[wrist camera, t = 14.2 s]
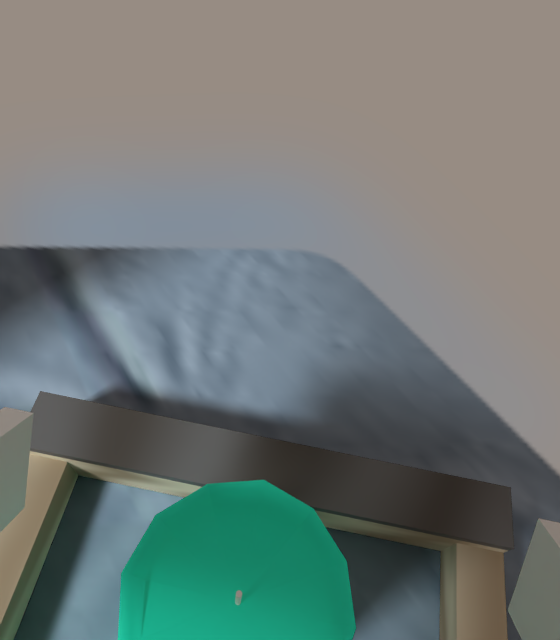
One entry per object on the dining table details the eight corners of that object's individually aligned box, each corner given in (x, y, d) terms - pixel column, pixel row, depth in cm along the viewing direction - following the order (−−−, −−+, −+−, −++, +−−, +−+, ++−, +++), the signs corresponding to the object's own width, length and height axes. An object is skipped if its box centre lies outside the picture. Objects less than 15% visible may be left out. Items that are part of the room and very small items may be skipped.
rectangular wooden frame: (-106, 787, 18) (-158, 807, 16) (58, 417, 26) (40, 391, 24) (494, 925, 18) (538, 969, 15) (482, 504, 25) (510, 487, 23)
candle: (185, 532, 24) (152, 438, 14) (317, 563, 23) (383, 489, 13) (139, 693, 20) (52, 727, 10) (292, 731, 20) (355, 802, 10)
